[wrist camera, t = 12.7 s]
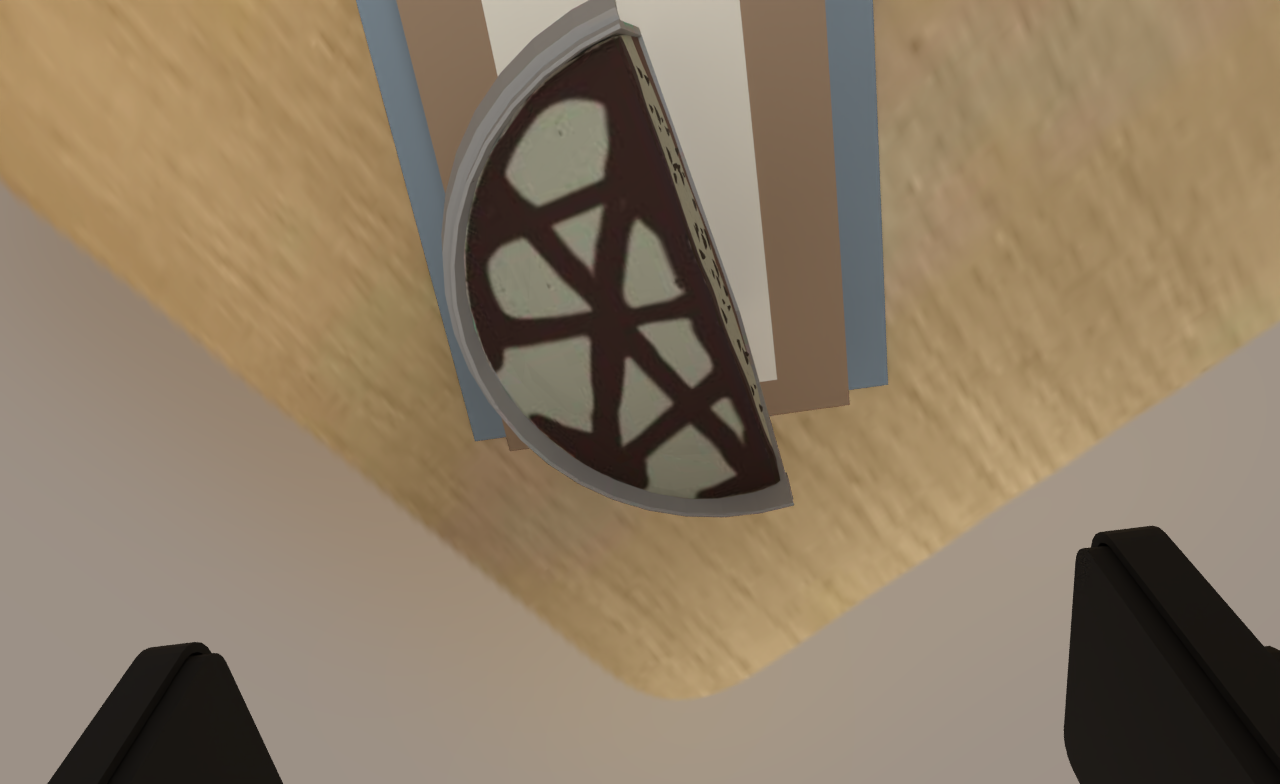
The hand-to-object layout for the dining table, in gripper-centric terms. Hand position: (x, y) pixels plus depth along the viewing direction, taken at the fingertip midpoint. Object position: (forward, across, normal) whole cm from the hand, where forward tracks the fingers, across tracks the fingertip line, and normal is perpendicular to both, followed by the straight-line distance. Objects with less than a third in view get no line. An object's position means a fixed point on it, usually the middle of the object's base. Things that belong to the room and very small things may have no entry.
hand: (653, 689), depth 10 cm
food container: (+21, +2, 0) cm, 21 cm away
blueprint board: (+24, 0, 0) cm, 24 cm away
